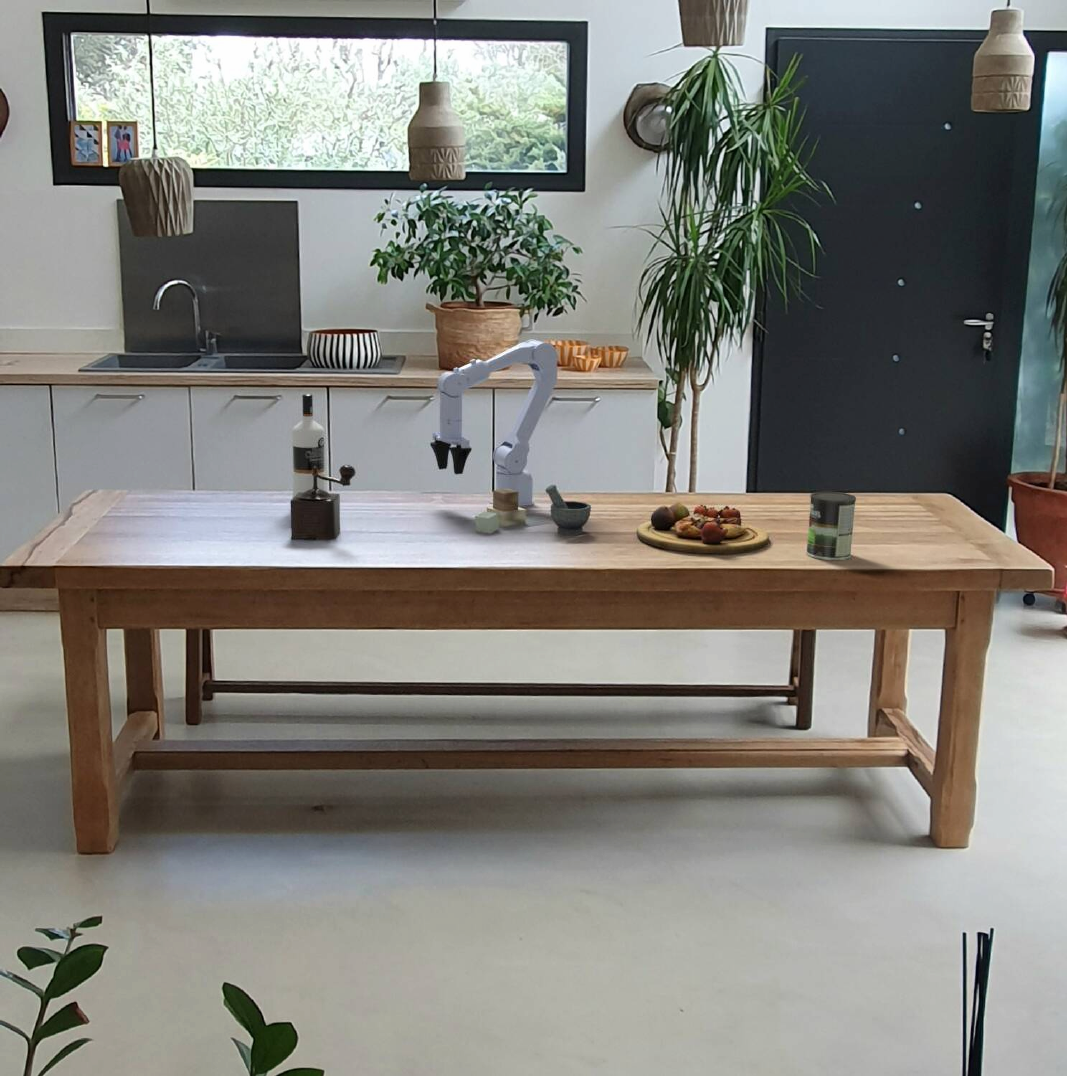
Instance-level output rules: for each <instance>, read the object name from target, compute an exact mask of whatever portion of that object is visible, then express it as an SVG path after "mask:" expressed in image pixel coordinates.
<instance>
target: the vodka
mask: <svg viewBox="0 0 1067 1076" xmlns="http://www.w3.org/2000/svg"><path fill="white" fill-rule="evenodd" d="M301 400H302V420H301V421H299V422H298V423H297V424H296V425H294V426H293V428H292V429H291V444H292V461H293V462H292V463H293V464H292V467H293V470H292V473H291V474H292V479H293V480H292V481H293V484H292V485H293V487H292V499H293V498H294V497H295V496H296V495H297V494H298V493H299V492H303V493H304V492H305V491H307V490H309V489H312V488H313V476H312V473H313V470H312V469H313V467H317V468H318V471H317V473H318V475H321V476H325V477H326V471H325V467H326V465H325V444H326V441H325V439H326V438H325V434H326V432H325V429H324V427H323V426H322V425H321V424H319V423H318V422H316V421H315V419H314V406H313V404H314V402H313V395H312V394H309V393H304V394H302V398H301ZM317 487H318V489H322V490H324V491H326V492H327V490H326V480H323V479H320V478H318V477H317ZM292 499H291V500H292Z"/></svg>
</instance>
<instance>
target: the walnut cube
mask: <svg viewBox="0 0 1067 1076" xmlns="http://www.w3.org/2000/svg"><path fill="white" fill-rule="evenodd" d="M492 501H493V504H492V507H493V508H494V509H498V510H501V511H510V510H517V509H518V507H519V506H518V491H515V490H511V489H508V488H507V489H500V490H496V489H494V490H492Z"/></svg>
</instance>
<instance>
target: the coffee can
mask: <svg viewBox="0 0 1067 1076" xmlns="http://www.w3.org/2000/svg"><path fill="white" fill-rule="evenodd" d="M809 497H810V506H809V517H808V518H809V520H808V531H807V546H806V552H805V553H806V555H807V556H809V557H811V558H814V559H817V560H823V561H832V562H834V561H835V562H836V561H845V560H849V559H850V558H851V557H852V556H851V553H852V544H853V543H852V541H853V530H854V519H855V509H856V508H855V506H856V501H857V497H856V496H855V495H853V494H850V493H847V492H846V493H845V492H841V491H815V492H812V493H811V494H810V496H809Z"/></svg>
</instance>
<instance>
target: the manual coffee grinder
mask: <svg viewBox="0 0 1067 1076" xmlns="http://www.w3.org/2000/svg"><path fill="white" fill-rule="evenodd" d="M312 470H313V473H312V476H313V488H312V489H309V490H307V491H305V492H304V493H303V492H299V493H298V494H297V495H296V496H295V497H294V498H293V497H292V498H293V499H290V528H291V529H290V530H291V531H290V532H291V537H290V539H291V540H293V541H294V540H295V541H298V540H299V541H334V540H335V539H337V538H338V537H339V535H340V532H341V516H340V515H341V514H340V513H341V509H340V508H341V496H340V493H333V492H331V493H330V492H328V491H327V490H326V491H324V490H322V489H318V487H317V477H318V478H320V479H323V480H325V481H329V482H332V483H337V484H339V485H342V487H346V486H351V485H352V484H351V479H353V477H355V476H356V469H355V468H354V467H353V466H352V465H350V464H344V465H341V466H340V467H339V470H338V471H339V475H340V479H337V478H334V477H330V476H326V475H325V476H321V475H318V473H317V471H318V468H317V467H313V469H312Z"/></svg>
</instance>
